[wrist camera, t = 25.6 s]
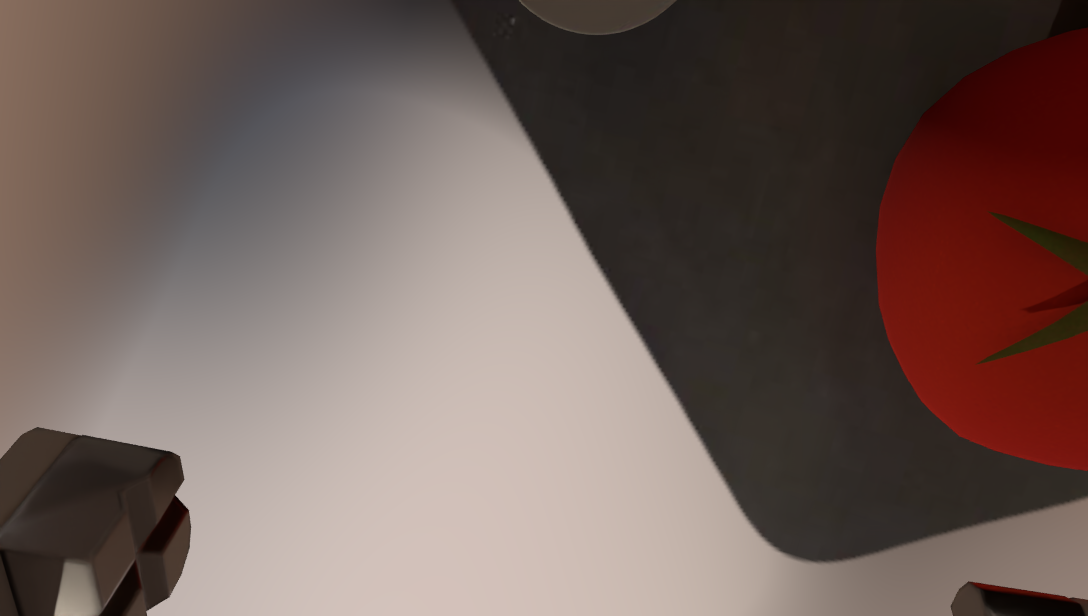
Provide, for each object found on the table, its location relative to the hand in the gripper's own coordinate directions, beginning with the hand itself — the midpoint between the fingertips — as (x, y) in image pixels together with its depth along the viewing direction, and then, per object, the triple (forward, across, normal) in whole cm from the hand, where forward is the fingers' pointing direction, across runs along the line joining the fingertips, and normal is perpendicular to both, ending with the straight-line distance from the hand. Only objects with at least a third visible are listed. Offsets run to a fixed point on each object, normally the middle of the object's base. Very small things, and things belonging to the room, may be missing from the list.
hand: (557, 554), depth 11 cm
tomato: (+25, -15, +6) cm, 30 cm away
